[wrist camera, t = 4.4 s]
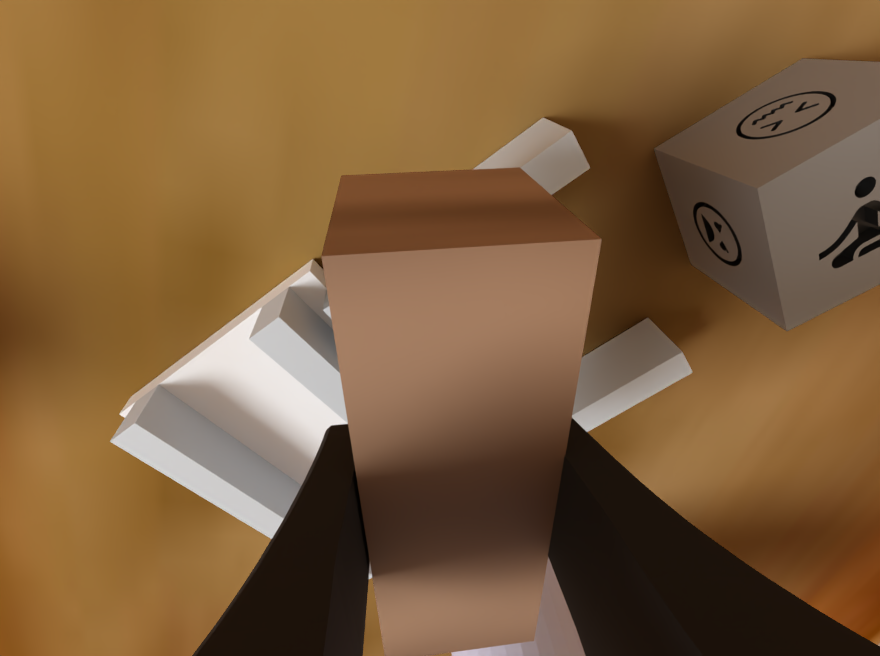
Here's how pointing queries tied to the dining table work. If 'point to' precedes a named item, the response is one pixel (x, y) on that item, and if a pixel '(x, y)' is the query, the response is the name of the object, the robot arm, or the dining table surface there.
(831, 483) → the dining table surface
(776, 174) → the dice cube
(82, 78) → the dining table surface
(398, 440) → the brown rectangular block
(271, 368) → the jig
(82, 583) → the dining table surface
